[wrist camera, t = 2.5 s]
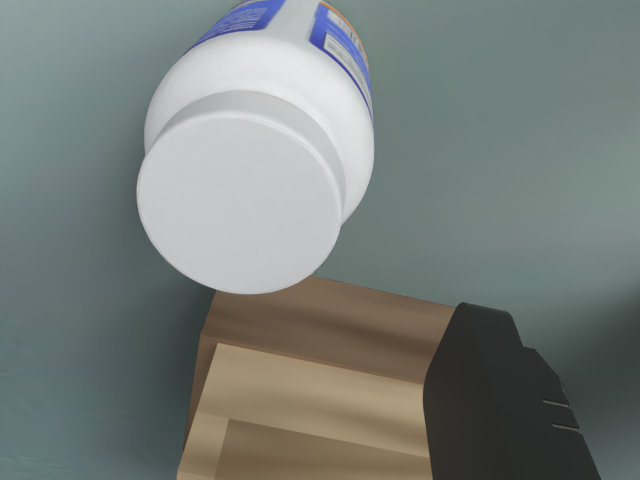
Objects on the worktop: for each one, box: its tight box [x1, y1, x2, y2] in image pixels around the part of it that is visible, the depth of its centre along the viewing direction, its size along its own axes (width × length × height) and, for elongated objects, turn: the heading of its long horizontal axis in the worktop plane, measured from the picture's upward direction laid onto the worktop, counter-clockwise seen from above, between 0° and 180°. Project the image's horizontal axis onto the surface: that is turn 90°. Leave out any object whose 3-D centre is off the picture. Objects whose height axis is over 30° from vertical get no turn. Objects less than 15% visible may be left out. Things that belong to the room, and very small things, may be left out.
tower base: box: [182, 275, 456, 455], centre depth 24 cm, size 10×10×5 cm
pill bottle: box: [136, 0, 374, 294], centre depth 15 cm, size 5×5×10 cm
